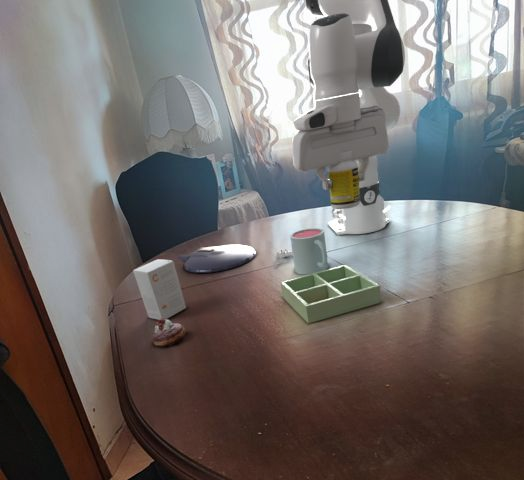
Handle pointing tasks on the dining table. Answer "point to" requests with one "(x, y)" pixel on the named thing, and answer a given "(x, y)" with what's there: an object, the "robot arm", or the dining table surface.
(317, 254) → the mug
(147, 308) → the small box
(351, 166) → the pill bottle
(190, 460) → the dining table surface
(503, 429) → the dining table surface
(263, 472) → the dining table surface
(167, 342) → the pastry
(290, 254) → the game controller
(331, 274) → the divided tray
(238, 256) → the toy spaceship
